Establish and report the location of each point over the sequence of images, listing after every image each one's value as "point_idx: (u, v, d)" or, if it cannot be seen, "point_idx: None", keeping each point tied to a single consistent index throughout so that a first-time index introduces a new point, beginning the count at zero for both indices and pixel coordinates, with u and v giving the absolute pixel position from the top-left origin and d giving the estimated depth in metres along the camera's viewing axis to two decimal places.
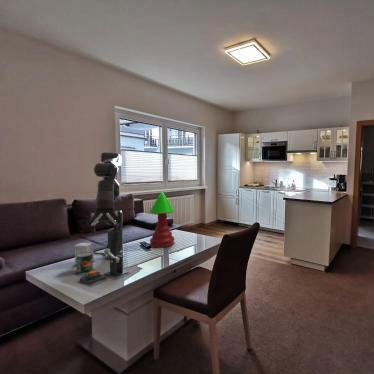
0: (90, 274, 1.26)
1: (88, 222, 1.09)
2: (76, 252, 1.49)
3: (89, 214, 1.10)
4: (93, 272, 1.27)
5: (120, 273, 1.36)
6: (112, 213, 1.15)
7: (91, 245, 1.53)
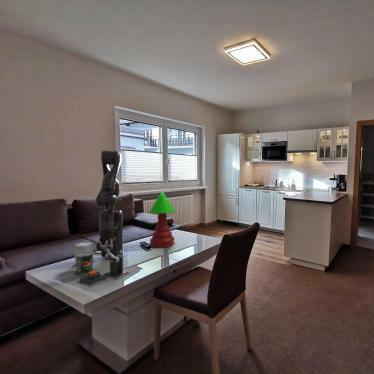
0: (90, 274, 1.26)
1: (101, 249, 1.35)
2: (76, 252, 1.49)
3: (98, 244, 1.33)
4: (93, 272, 1.27)
5: (120, 273, 1.36)
6: (113, 237, 1.41)
7: (91, 245, 1.53)
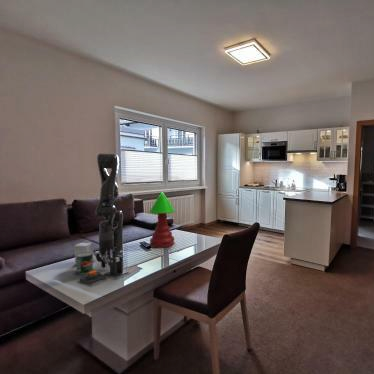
0: (90, 274, 1.26)
1: (101, 260, 1.35)
2: (76, 252, 1.49)
3: (98, 255, 1.34)
4: (93, 272, 1.27)
5: (120, 273, 1.36)
6: (113, 248, 1.42)
7: (91, 245, 1.53)
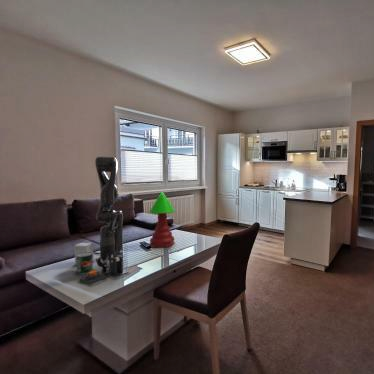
0: (90, 274, 1.26)
1: (102, 265, 1.35)
2: (76, 252, 1.49)
3: (99, 260, 1.34)
4: (93, 272, 1.27)
5: (120, 273, 1.36)
6: (113, 253, 1.42)
7: (91, 245, 1.53)
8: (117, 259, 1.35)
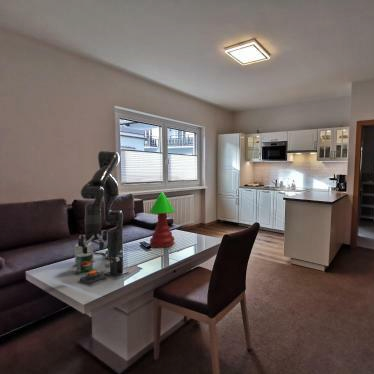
0: (90, 274, 1.26)
1: (82, 244, 1.21)
2: (76, 252, 1.49)
3: (82, 237, 1.21)
4: (93, 272, 1.27)
5: (120, 273, 1.36)
6: (100, 233, 1.30)
7: (91, 245, 1.53)
8: (117, 259, 1.35)
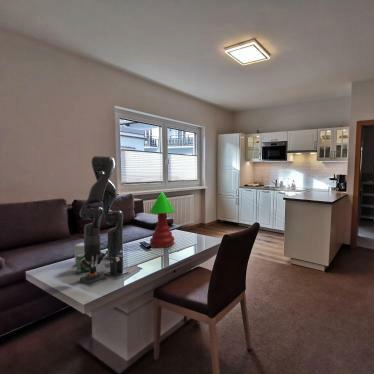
0: None
1: (89, 265, 1.25)
2: (76, 252, 1.49)
3: (83, 261, 1.22)
4: (93, 274, 1.27)
5: (120, 273, 1.36)
6: (99, 253, 1.30)
7: None
8: (117, 259, 1.35)
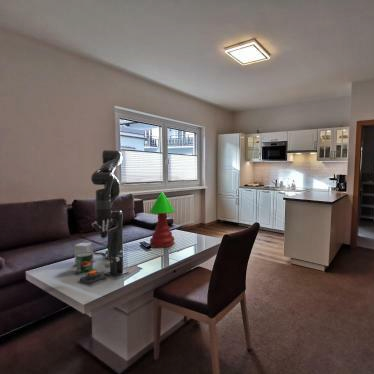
0: (90, 274, 1.26)
1: (100, 229, 1.29)
2: (76, 252, 1.49)
3: (95, 225, 1.26)
4: (93, 272, 1.27)
5: (120, 273, 1.36)
6: (110, 218, 1.34)
7: (91, 245, 1.53)
8: (117, 259, 1.35)
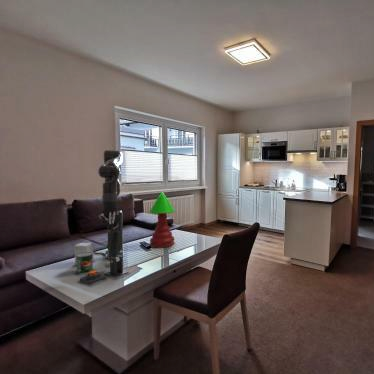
0: (90, 274, 1.26)
1: (107, 221, 1.31)
2: (76, 252, 1.49)
3: (102, 217, 1.28)
4: (93, 272, 1.27)
5: (120, 273, 1.36)
6: (116, 211, 1.36)
7: (91, 245, 1.53)
8: (117, 259, 1.35)
